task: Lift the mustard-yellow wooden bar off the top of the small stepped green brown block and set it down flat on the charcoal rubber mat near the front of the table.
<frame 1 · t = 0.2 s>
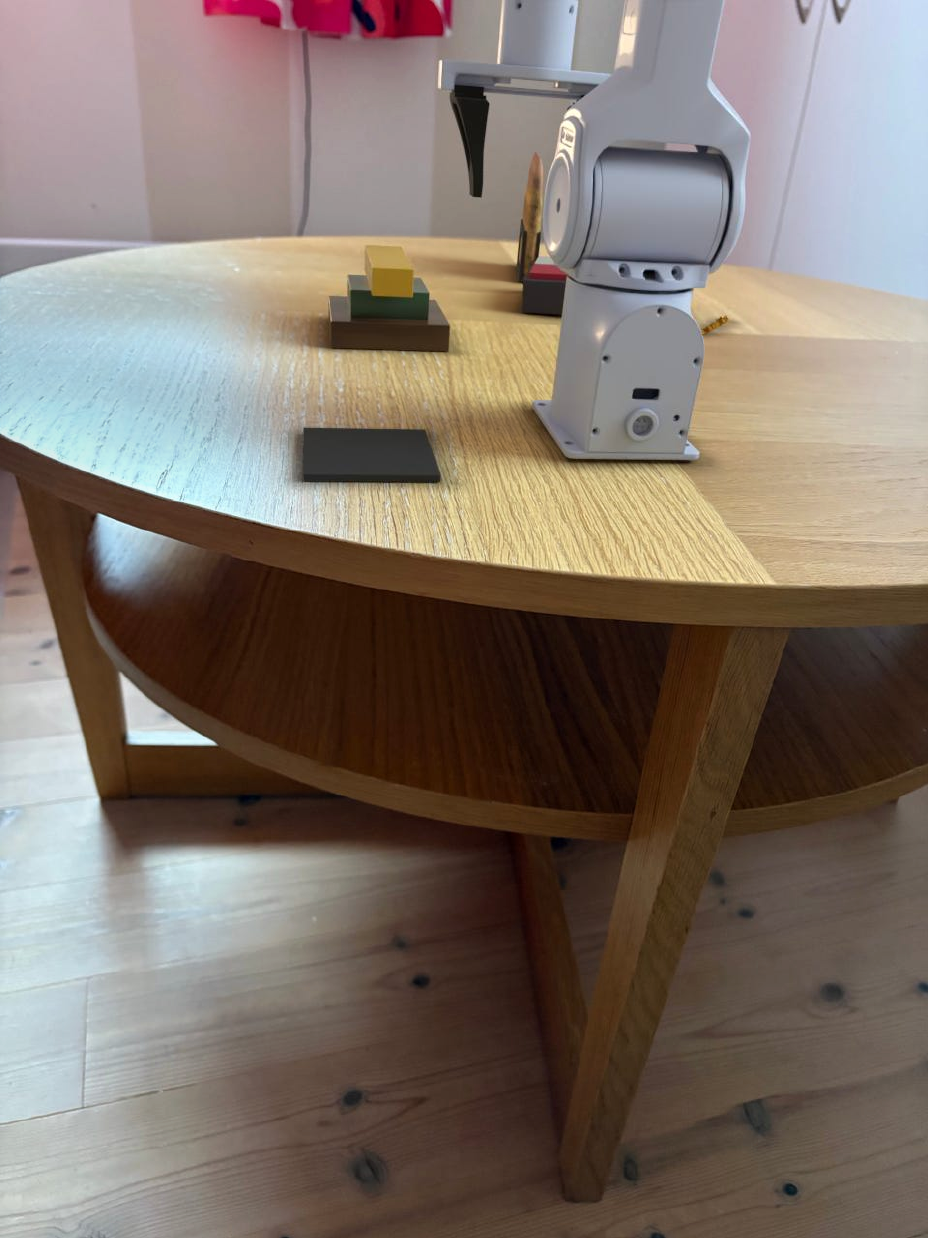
hand: (521, 198, 73), 10 cm above the table, tool pointing down, fingers open, 7 cm apart
mat: (368, 456, 48), on the table
stepped green brown block: (386, 335, 72), on the table
keychain: (712, 332, 83), on the table
ammunition clip: (525, 276, 100), on the table
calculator: (602, 311, 86), on the table
bar: (387, 283, 69), point 4 cm above the table, touching stepped green brown block
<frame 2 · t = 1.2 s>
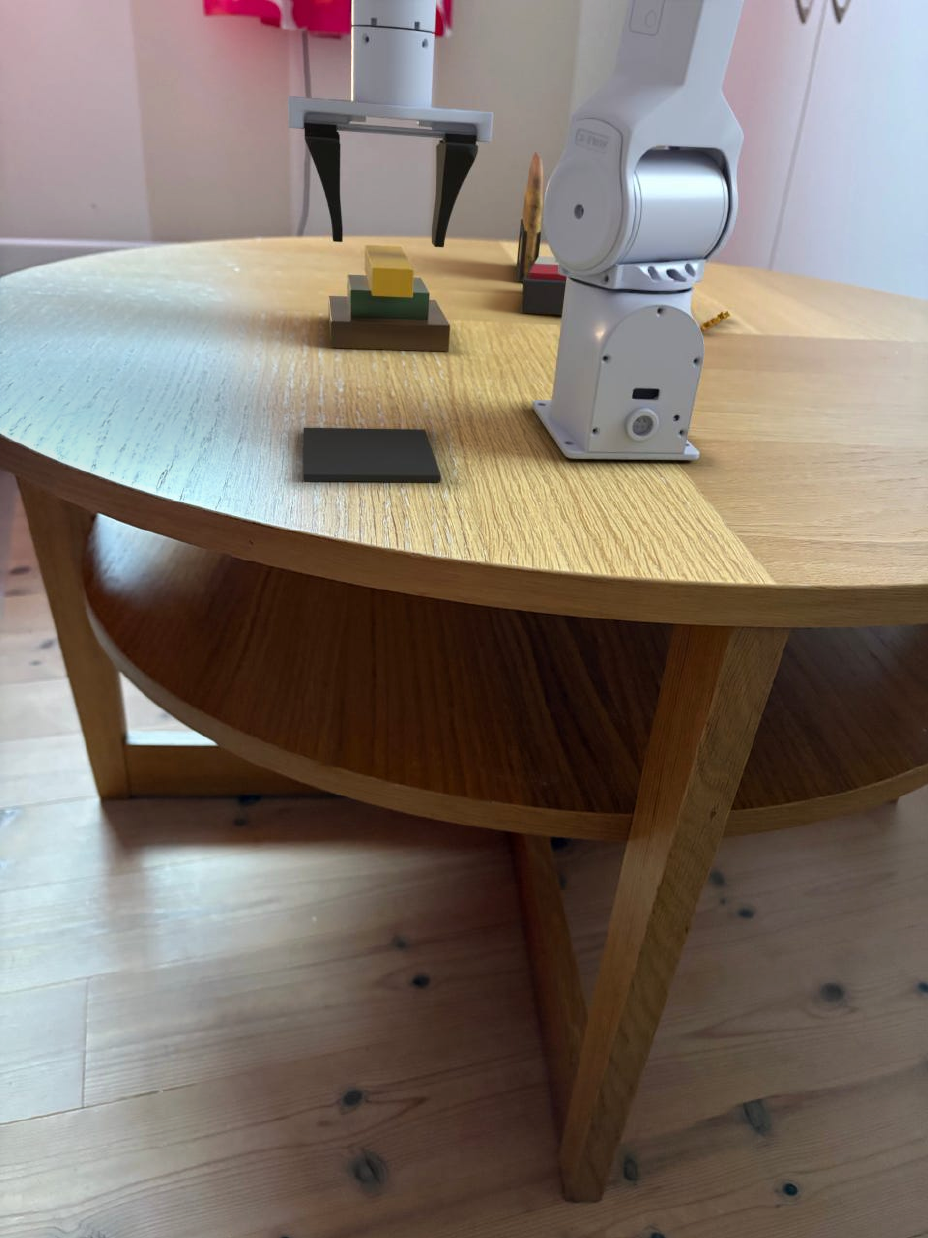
hand: (388, 242, 68), 7 cm above the table, tool pointing down, fingers open, 7 cm apart
nothing on the table moved.
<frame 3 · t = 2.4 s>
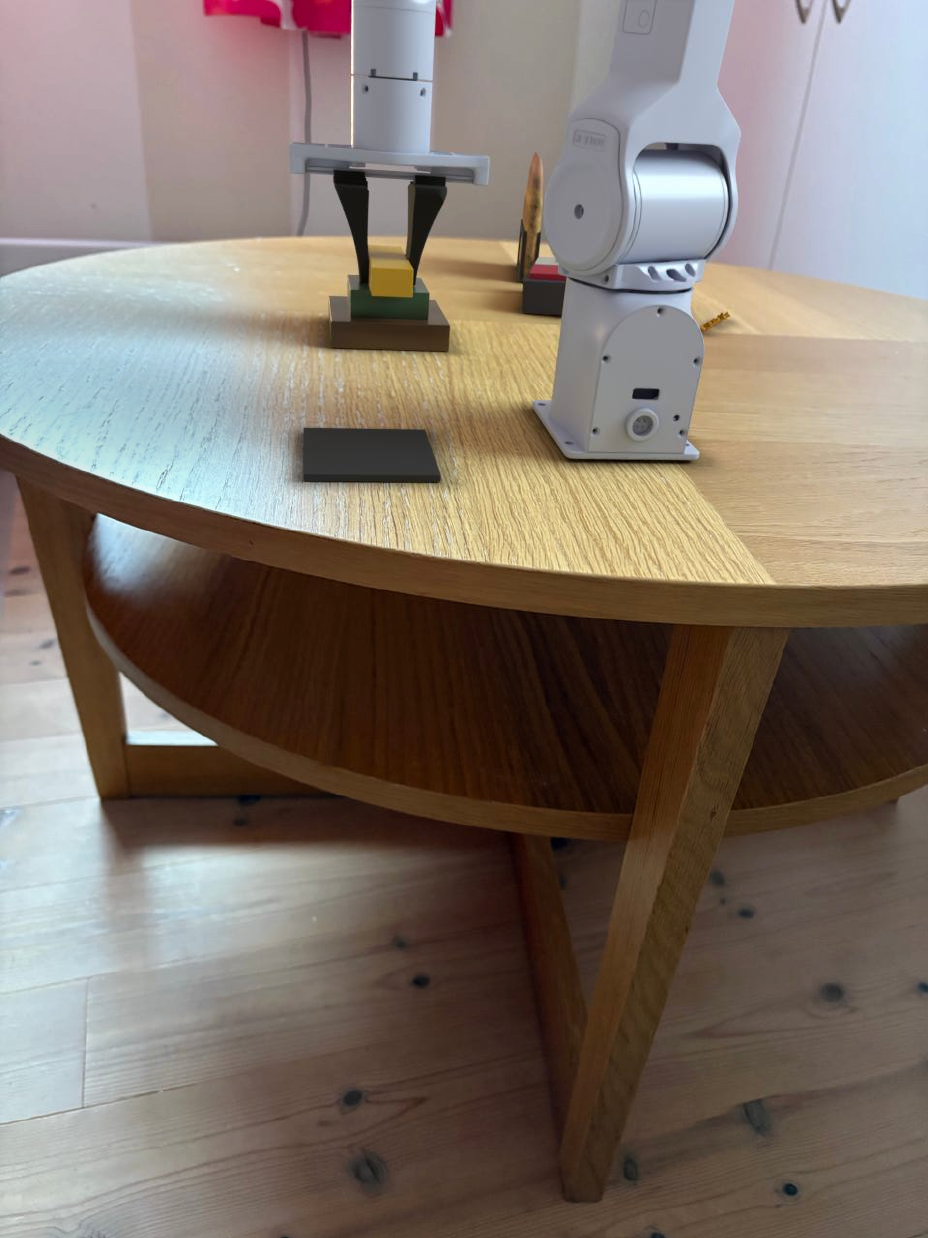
hand: (387, 281, 69), 4 cm above the table, tool pointing down, fingers closed on bar, 3 cm apart
bar: (387, 283, 69), point 4 cm above the table, touching gripper, stepped green brown block
everything else where it was.
when the fingers open (0 cm above the table, at t = 8.2 s): bar stays where it is, resting on mat.
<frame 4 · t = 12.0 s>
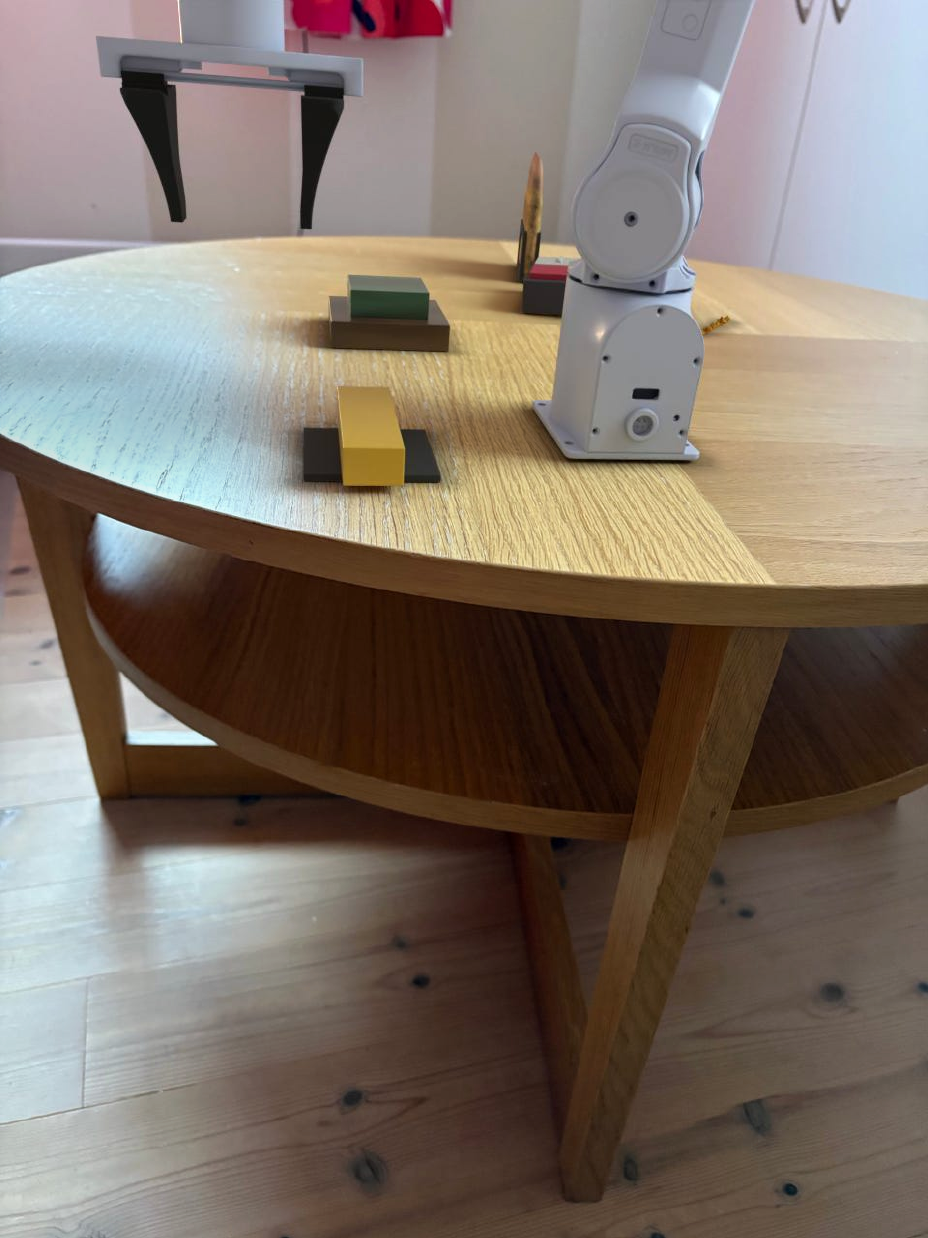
hand: (243, 223, 55), 9 cm above the table, tool pointing down, fingers open, 7 cm apart
bar: (367, 449, 48), resting on mat
everything else where it was.
at the end: bar 0.1 cm off-centre on the mat, point 0.4 cm above the mat's base; bar touching mat; the gripper is holding nothing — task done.
